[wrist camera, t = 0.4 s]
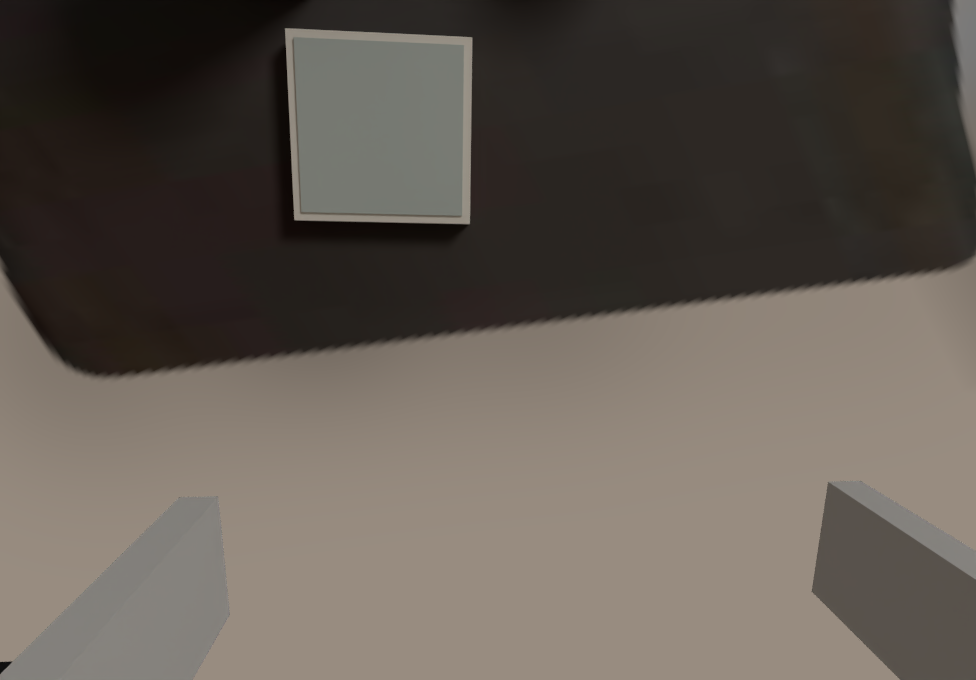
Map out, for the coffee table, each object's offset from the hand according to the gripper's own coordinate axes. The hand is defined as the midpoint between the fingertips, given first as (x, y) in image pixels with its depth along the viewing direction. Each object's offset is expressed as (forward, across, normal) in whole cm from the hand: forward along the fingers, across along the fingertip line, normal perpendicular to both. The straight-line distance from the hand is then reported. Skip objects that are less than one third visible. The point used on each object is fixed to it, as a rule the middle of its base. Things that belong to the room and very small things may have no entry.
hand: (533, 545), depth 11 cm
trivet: (+26, -6, +13) cm, 30 cm away
